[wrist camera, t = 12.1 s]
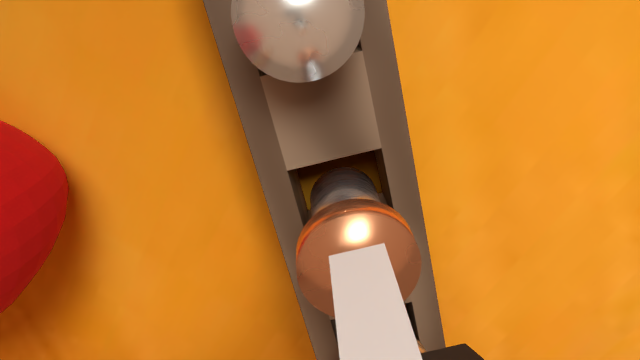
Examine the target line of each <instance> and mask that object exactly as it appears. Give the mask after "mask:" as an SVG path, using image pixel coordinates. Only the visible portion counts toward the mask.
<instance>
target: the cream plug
mask: <svg viewBox="0 0 640 360" xmlns="http://www.w3.org/2000/svg"><path fill="white" fill-rule="evenodd" d="M231 19H232V26H233V30H234V34H235V36H236V39H237V42H238V44H239V46H240V47H241V49H242V51H243V52H244V54H245V55H246V57H247V58H248V59H249V60H250V61H251V62H252V63H253V64H254V65H255V66H256V67H257V68H258V69H260V70H261V71H263V72H264V73H266V74H268V75H270V76H272V77H274V78H276V79H279V80H283V81H287V82H296V83H301V82H310V81H315V80H318V79H321V78H324V77H326V76H328V75H330V74H331V73H333V72H335V71H336V70H337V69H339V68H340V67H341V66H342V65H343V64H344V63H345V62H346V61H347V60H348V59H349V58H350V56H351V55H352V53H353V52H354V50H355V49H356V47H357V45H358V43H359V40H360V38H361V35H362V31H363V27H364V19H365V8H364V0H232V3H231Z"/></svg>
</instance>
